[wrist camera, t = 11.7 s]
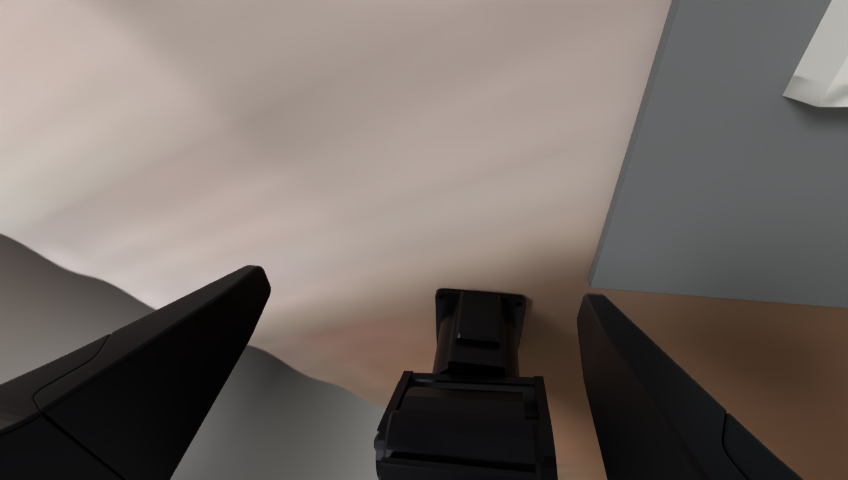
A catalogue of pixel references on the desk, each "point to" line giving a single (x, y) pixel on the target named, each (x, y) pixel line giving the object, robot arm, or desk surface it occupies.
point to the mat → (731, 165)
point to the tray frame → (824, 62)
